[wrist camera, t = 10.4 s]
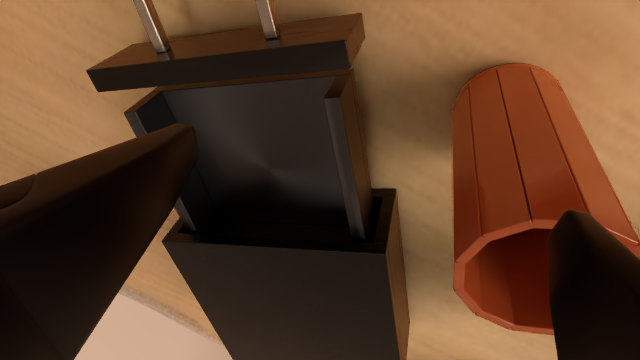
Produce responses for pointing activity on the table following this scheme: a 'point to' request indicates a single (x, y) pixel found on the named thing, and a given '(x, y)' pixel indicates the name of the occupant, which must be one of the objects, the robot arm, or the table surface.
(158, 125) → the drawer
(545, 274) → the cup
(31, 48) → the table surface
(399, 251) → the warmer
